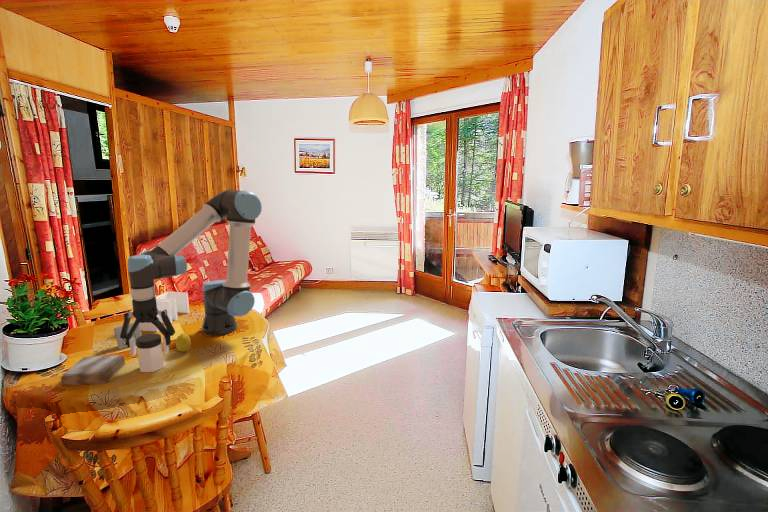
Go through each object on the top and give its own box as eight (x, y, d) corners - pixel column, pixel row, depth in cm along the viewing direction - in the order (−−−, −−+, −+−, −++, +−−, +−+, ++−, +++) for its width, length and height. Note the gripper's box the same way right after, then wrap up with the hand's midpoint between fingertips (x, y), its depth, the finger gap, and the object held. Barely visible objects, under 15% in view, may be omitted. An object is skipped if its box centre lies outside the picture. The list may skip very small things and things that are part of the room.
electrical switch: (119, 350, 167) (115, 328, 166) (114, 348, 170) (110, 326, 169) (143, 343, 174) (140, 322, 173) (138, 341, 178) (135, 320, 176)
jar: (156, 360, 160) (153, 331, 157) (169, 364, 156) (166, 335, 153) (133, 369, 152) (129, 339, 149) (147, 375, 148) (143, 344, 146)
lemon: (174, 351, 167) (172, 333, 165) (188, 347, 171) (187, 329, 169) (179, 356, 163) (177, 337, 161) (193, 352, 167) (192, 333, 165)
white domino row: (169, 311, 212) (167, 291, 210) (189, 313, 211) (187, 292, 208) (135, 330, 188) (132, 307, 185) (157, 332, 187) (155, 309, 184)
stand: (124, 364, 156) (123, 354, 155) (107, 382, 142) (105, 372, 142) (84, 366, 154) (82, 356, 153) (62, 385, 140) (60, 375, 139)
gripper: (181, 293, 154) (186, 347, 158) (113, 295, 150) (121, 351, 154) (174, 299, 146) (180, 356, 151) (103, 302, 142) (111, 360, 147)
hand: (150, 353), depth 153 cm, fingers open, 11 cm apart
